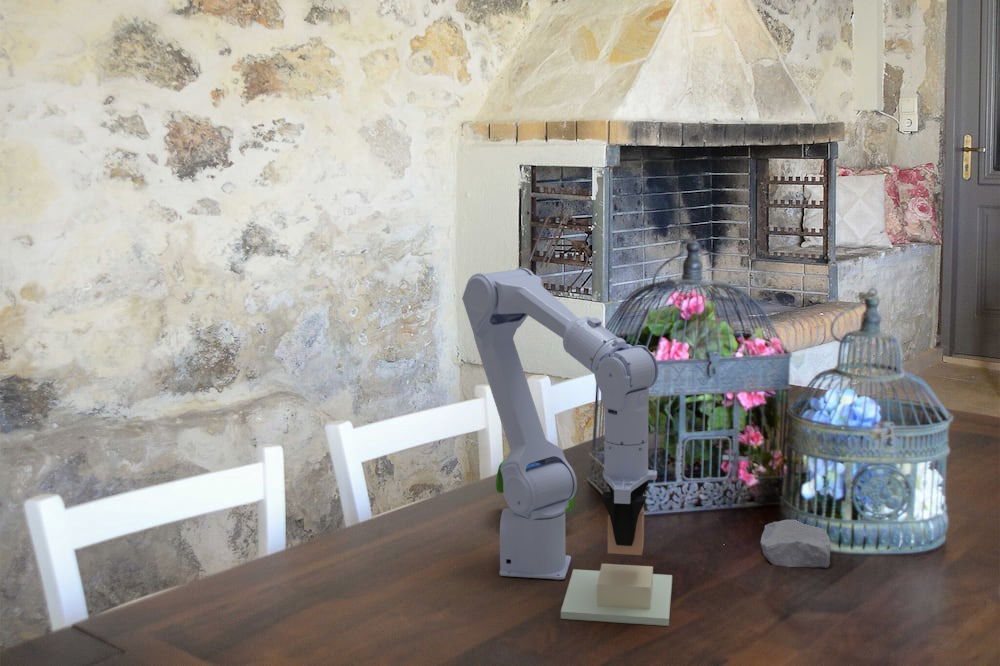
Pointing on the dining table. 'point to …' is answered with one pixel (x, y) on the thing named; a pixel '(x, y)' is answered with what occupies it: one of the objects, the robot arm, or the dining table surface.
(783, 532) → the stone block
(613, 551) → the top brick
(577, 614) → the base plate
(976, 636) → the dining table surface
